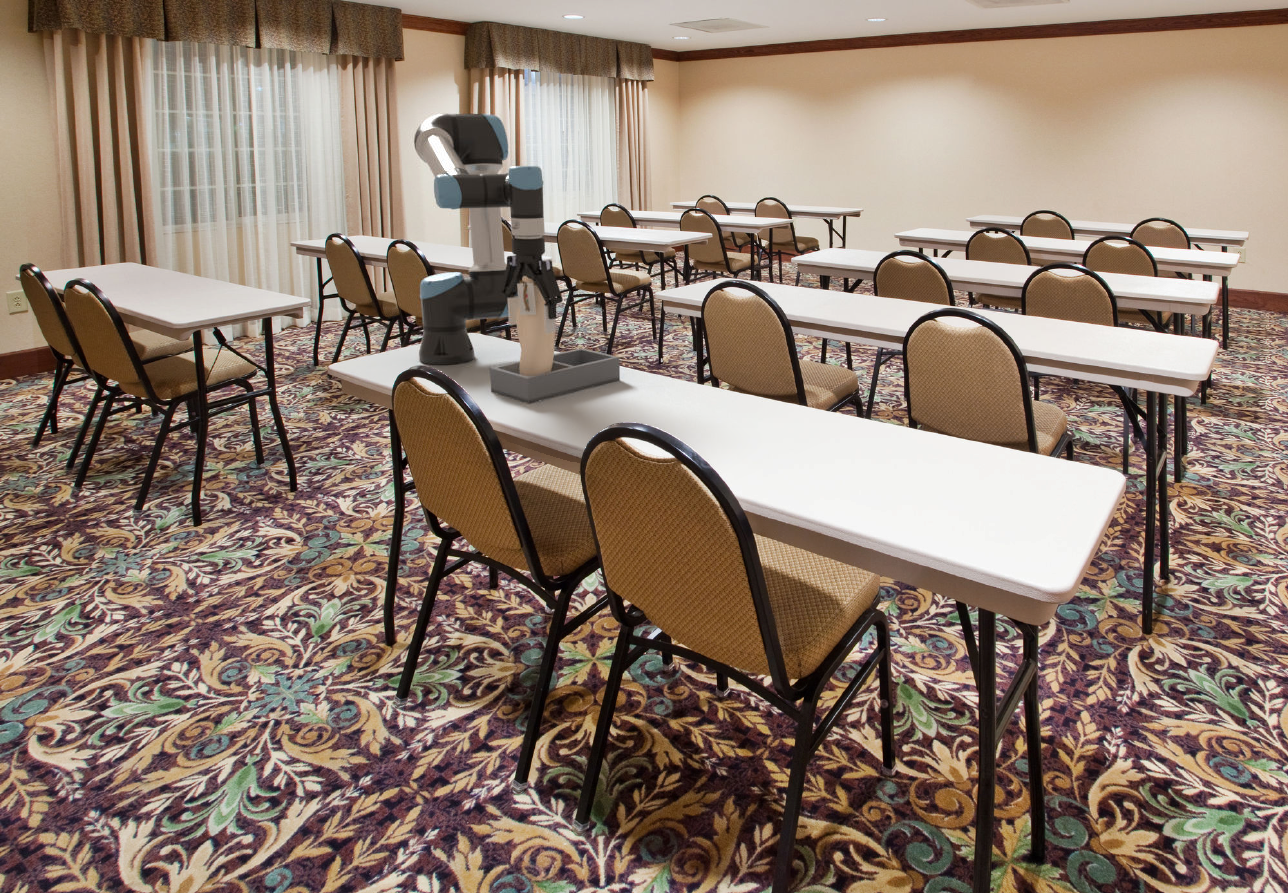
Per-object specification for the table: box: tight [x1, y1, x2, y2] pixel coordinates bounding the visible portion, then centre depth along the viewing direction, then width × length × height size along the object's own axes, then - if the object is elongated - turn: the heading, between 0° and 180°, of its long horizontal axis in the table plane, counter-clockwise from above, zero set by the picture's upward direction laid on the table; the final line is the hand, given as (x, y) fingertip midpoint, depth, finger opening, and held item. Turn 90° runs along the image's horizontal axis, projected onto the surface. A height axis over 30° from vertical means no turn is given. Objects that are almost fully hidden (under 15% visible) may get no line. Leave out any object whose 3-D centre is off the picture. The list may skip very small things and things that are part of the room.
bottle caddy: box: [489, 347, 621, 405], centre depth 210 cm, size 14×30×6 cm, turn 136°
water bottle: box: [516, 274, 556, 377], centre depth 202 cm, size 10×9×28 cm
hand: (531, 328), depth 201 cm, fingers open, 13 cm apart
